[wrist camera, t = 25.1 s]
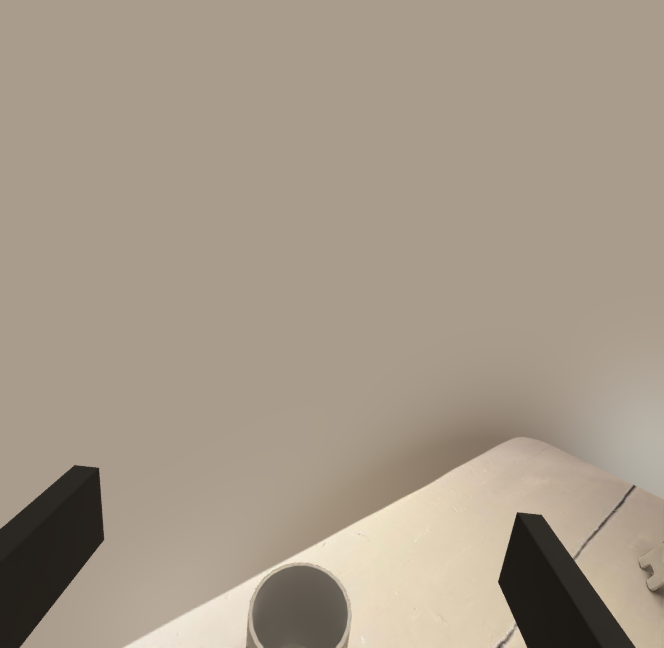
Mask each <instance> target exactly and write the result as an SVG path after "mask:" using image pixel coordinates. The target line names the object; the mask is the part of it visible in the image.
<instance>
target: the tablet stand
mask: <svg viewBox="0 0 664 648" xmlns="http://www.w3.org/2000/svg"><path fill="white" fill-rule="evenodd" d="M639 563H640V565H641V568H642V569H644V568H646V567H648V566H652V568H653V571H654V575H653V576H652V577H651V578H649V579H648V580H647V581H646V582H647V585H648V587H649V589H650V590H652V591H655V590H656V589H658V588H659V587H661V586H663V585H664V542H662V543H661V544H660V545H658V546H657V547H655V548H654V549H652V550H651V551H650V552H648V553H647V554H645V555H644V556H642V557H641V558H640V559H639Z"/></svg>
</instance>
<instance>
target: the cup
mask: <svg viewBox="0 0 664 648" xmlns="http://www.w3.org/2000/svg"><path fill="white" fill-rule="evenodd" d="M351 619H352V613H351V604H350V600H349V598H348V595H347V592H346V590H345V588H344V587H343V585H342V584H341V583H340V581H339V580H338V579H337V578H336V577H335V576H334V575H333V574H332V573H331V572H329V571H328V570H326V569H324V568H322V567H320V566H318V565H314V564H310V563H292V564H287V565H283V566H281V567H279V568H277V569H275V570H273V571H272V572H271V573H269V574H268V575H267V576H266V577H265V578H263V580H262V581H261V582H260V584H259V585H258V586H257V588H256V589H255V591H254V594H253V596H252V598H251V601H250V606H249V613H248V626H247V644H246V648H347V646H348V640H349V633H350V626H351Z"/></svg>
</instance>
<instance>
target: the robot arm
mask: <svg viewBox="0 0 664 648" xmlns="http://www.w3.org/2000/svg"><path fill="white" fill-rule="evenodd" d="M103 540H104V531H103V519H102V504H101V490H100V476H99V468H96V467H95V468H94V467H86V466H77V465H74V466H73V467H72V468H71V469H70V470H69V471H67V472H66V473H65V474H64V475H63V476H62V477H60V478H59V479H58V480H57V481H56V482H55V483H54V484H52V485H51V486H50V487H49V488H48V489H47V490H45V491H44V492H43V493H42V494H41V495H40V496H38V497H37V498H36V499H35V500H34V501H33V502H31V503H30V504H29V505H28V506H27V507H26V508H24V509H23V510H22V511H21V512H20V513H19V514H17V515H16V516H15V517H14V518H13V519H12V520H10V521H9V522H8V523H7V524H6V525H5V526H3V527H2V528H1V529H0V648H19V647H20V646H21V645H22V644H23V643H24V641H25V640H26V638H27V637H28V636H29V635H30V634H31V632H32V631H33V630H34V628H35V627H36V626H37V625H38V623H39V622H40V621H41V620H42V618H43V617H44V616H45V614H46V613H47V612H48V610H49V609H50V608H51V607H52V605H53V604H54V603H55V602H56V600H57V599H58V598H59V597H60V595H61V594H62V593H63V591H64V590H65V589H66V588H67V586H68V585H69V584H70V583H71V581H72V580H73V579H74V577H75V576H76V575H77V573H78V572H79V571H80V570H81V568H82V567H83V566H84V565H85V563H86V562H87V561H88V559H89V558H90V557H91V556H92V554H93V553H94V552H95V551H96V549H97V548H98V547H99V545H100V544H101V543H102V542H103ZM498 583H499V585H500V587H501V589H502V592H503V594H504V596H505V598H506V601H507V603H508V605H509V607H510V610H511V612H512V614H513V616H514V619H515V621H516V623H517V625H518V628H519V630H520V632H521V634H522V637H523V639H524V641H525V643H526V646H527V648H635V646H634V645H633V643H632V642H631V641H630V639H629V638H628V636H627V635H626V633H625V632H624V631H623V629H622V628H621V626H620V625H619V624H618V622H617V621H616V619H615V618H614V616H613V615H612V614H611V612H610V611H609V609H608V608H607V607H606V605H605V604H604V602H603V601H602V600H601V598H600V597H599V595H598V594H597V592H596V591H595V590H594V588H593V587H592V585H591V584H590V583H589V581H588V580H587V578H586V577H585V575H584V574H583V573H582V571H581V570H580V568H579V567H578V566H577V564H576V563H575V561H574V560H573V559H572V557H571V556H570V554H569V553H568V551H567V550H566V549H565V547H564V546H563V544H562V543H561V542H560V540H559V539H558V537H557V536H556V535H555V533H554V532H553V530H552V529H551V527H550V526H549V525H548V523H547V522H546V520H545V519H544V518H543V516H542V515H537V514H528V513H518V512H517V515H516V518H515V522H514V526H513V529H512V533H511V537H510V540H509V544H508V548H507V551H506V555H505V559H504V562H503V566H502V570H501V573H500V577H499V581H498Z"/></svg>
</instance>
